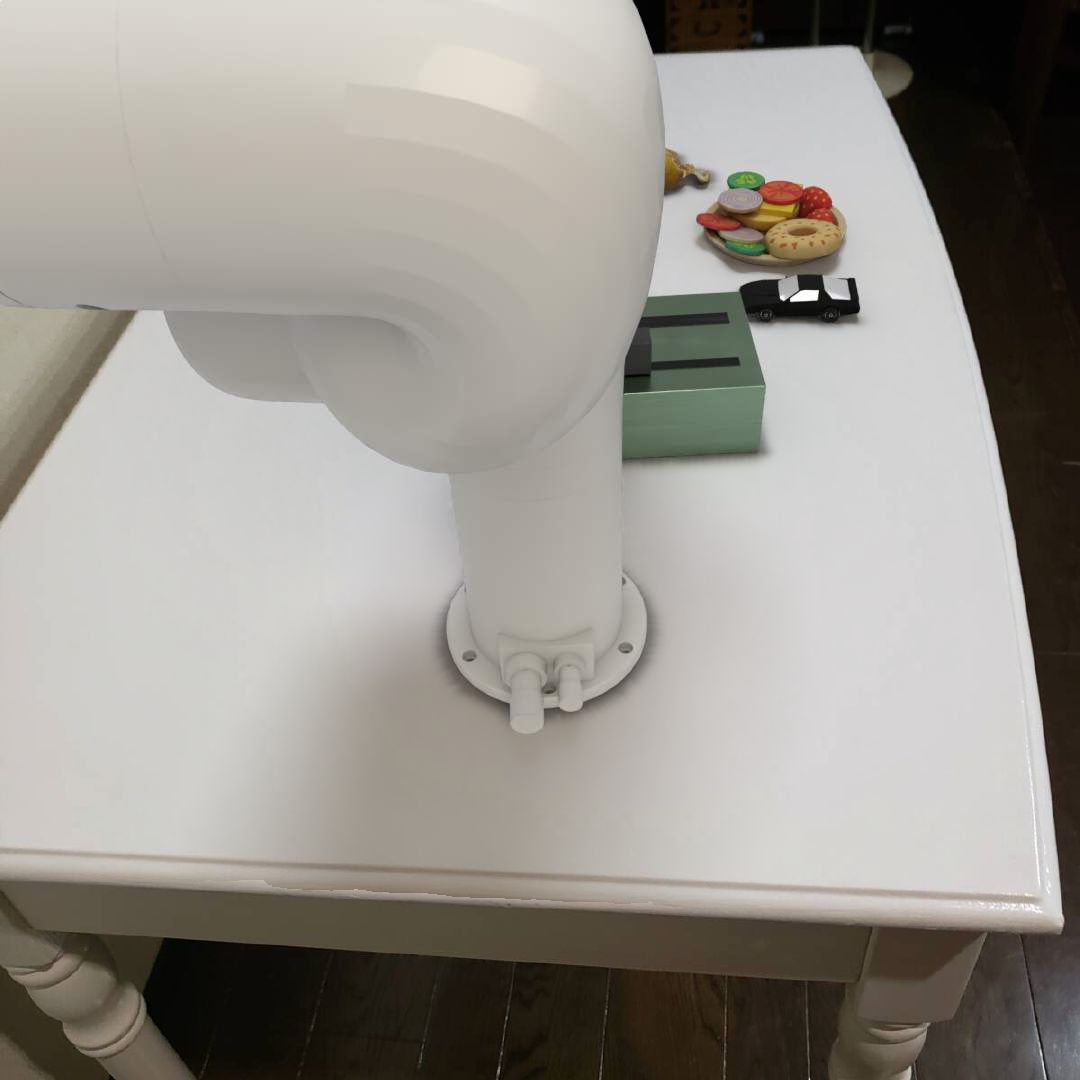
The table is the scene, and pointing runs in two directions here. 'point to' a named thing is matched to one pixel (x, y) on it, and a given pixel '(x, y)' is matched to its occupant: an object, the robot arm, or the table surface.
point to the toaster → (695, 380)
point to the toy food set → (773, 221)
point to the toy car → (801, 297)
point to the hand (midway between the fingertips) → (567, 294)
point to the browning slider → (639, 353)
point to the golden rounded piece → (679, 171)
